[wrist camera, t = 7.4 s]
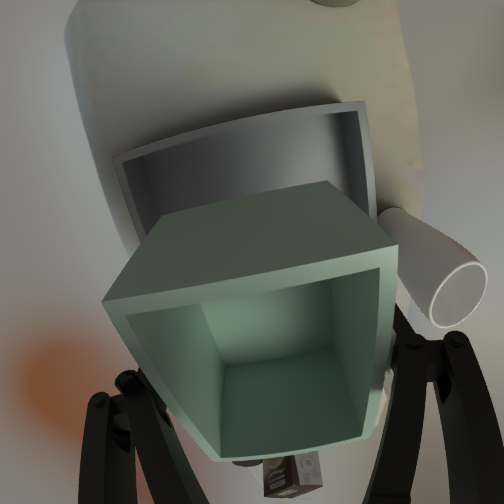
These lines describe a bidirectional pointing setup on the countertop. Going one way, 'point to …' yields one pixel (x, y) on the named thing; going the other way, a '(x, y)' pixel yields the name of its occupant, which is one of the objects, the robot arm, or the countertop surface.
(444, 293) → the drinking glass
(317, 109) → the big crate
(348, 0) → the travel mug
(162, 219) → the box
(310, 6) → the countertop surface
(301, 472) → the coffee box
